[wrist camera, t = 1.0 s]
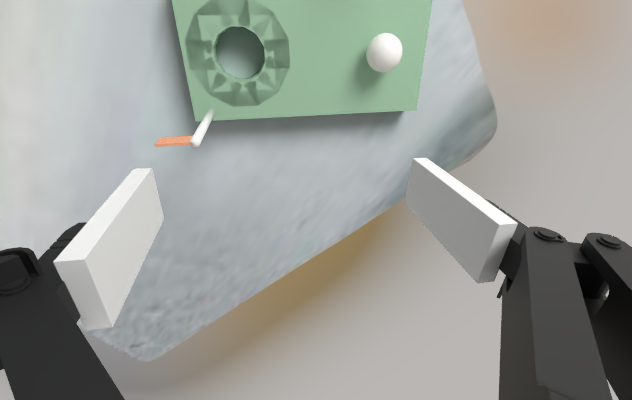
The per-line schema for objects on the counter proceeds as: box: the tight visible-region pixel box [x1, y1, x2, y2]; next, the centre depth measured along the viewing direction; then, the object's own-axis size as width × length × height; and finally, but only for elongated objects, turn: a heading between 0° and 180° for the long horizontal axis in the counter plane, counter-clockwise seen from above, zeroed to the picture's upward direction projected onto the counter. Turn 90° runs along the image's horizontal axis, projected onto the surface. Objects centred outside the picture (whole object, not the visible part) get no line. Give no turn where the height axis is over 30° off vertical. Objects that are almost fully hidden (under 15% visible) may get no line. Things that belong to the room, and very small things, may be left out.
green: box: [155, 0, 432, 148], centre depth 31 cm, size 14×29×15 cm, turn 91°
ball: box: [366, 33, 403, 72], centre depth 34 cm, size 4×4×4 cm
